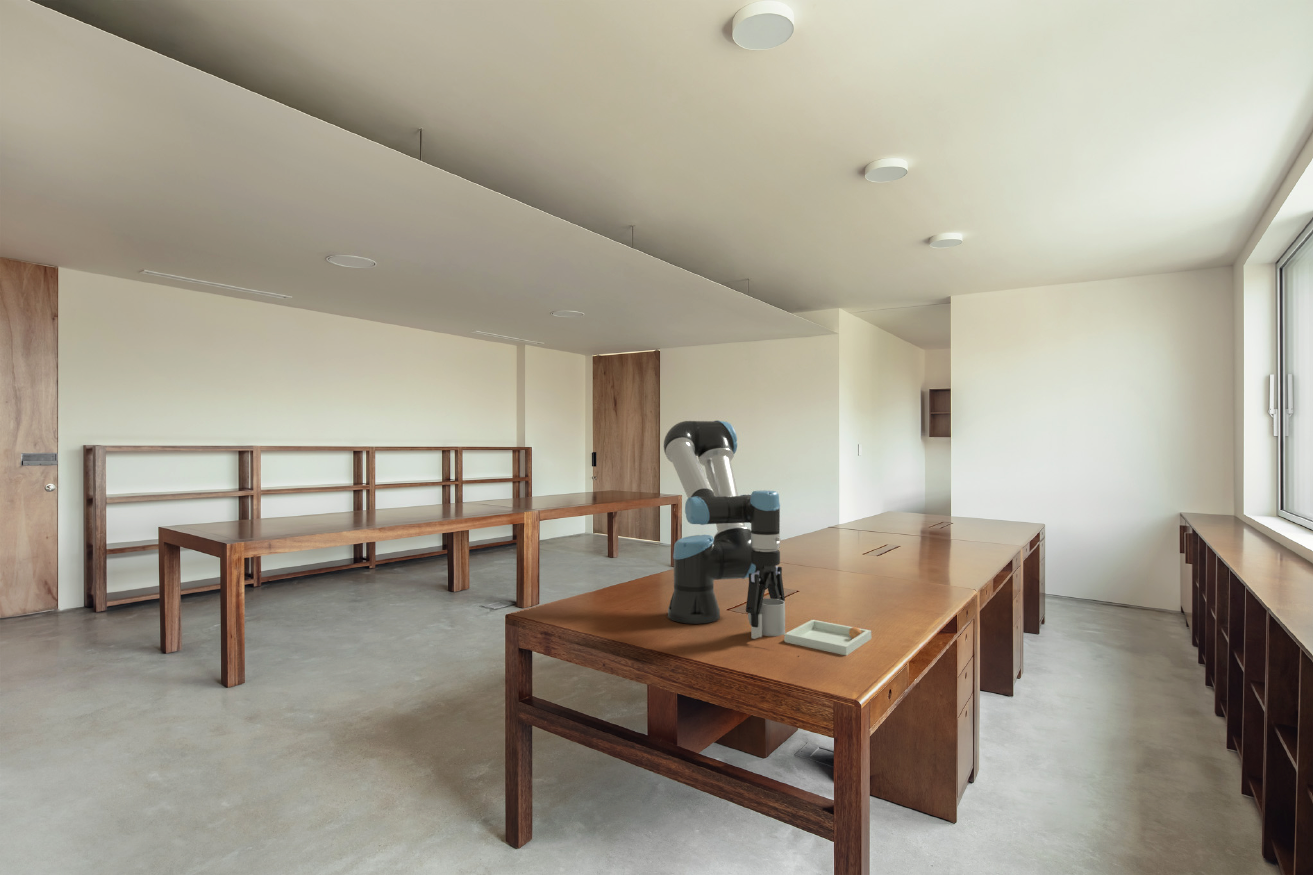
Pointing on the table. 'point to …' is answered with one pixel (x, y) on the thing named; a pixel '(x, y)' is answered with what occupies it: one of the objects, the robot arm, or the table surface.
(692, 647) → the table surface
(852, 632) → the ball
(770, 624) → the cup
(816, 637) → the tray
